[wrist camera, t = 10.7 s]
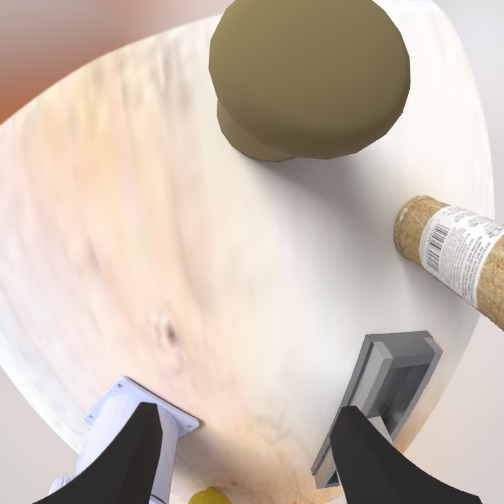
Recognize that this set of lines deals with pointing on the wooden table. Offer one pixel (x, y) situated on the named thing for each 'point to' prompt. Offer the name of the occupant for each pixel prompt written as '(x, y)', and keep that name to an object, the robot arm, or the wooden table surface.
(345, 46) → the cork
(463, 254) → the sprinkles bottle
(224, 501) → the lemon
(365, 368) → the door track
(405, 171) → the wooden table surface
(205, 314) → the wooden table surface
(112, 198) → the wooden table surface
